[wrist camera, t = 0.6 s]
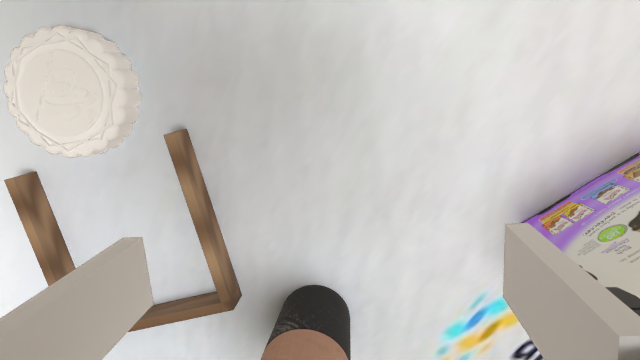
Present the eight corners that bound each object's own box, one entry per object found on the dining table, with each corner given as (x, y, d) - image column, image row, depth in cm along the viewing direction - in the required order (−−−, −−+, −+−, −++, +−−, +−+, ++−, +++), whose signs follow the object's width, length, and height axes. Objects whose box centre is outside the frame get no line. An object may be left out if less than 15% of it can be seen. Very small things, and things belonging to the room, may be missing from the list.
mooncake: (125, 171, 43) (104, 178, 40) (16, 127, 43) (-14, 130, 40) (158, 57, 40) (138, 54, 37) (41, 10, 40) (11, 2, 37)
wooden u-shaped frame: (27, 174, 44) (4, 180, 41) (186, 129, 41) (173, 132, 38) (90, 327, 47) (72, 343, 44) (241, 295, 45) (233, 309, 42)
